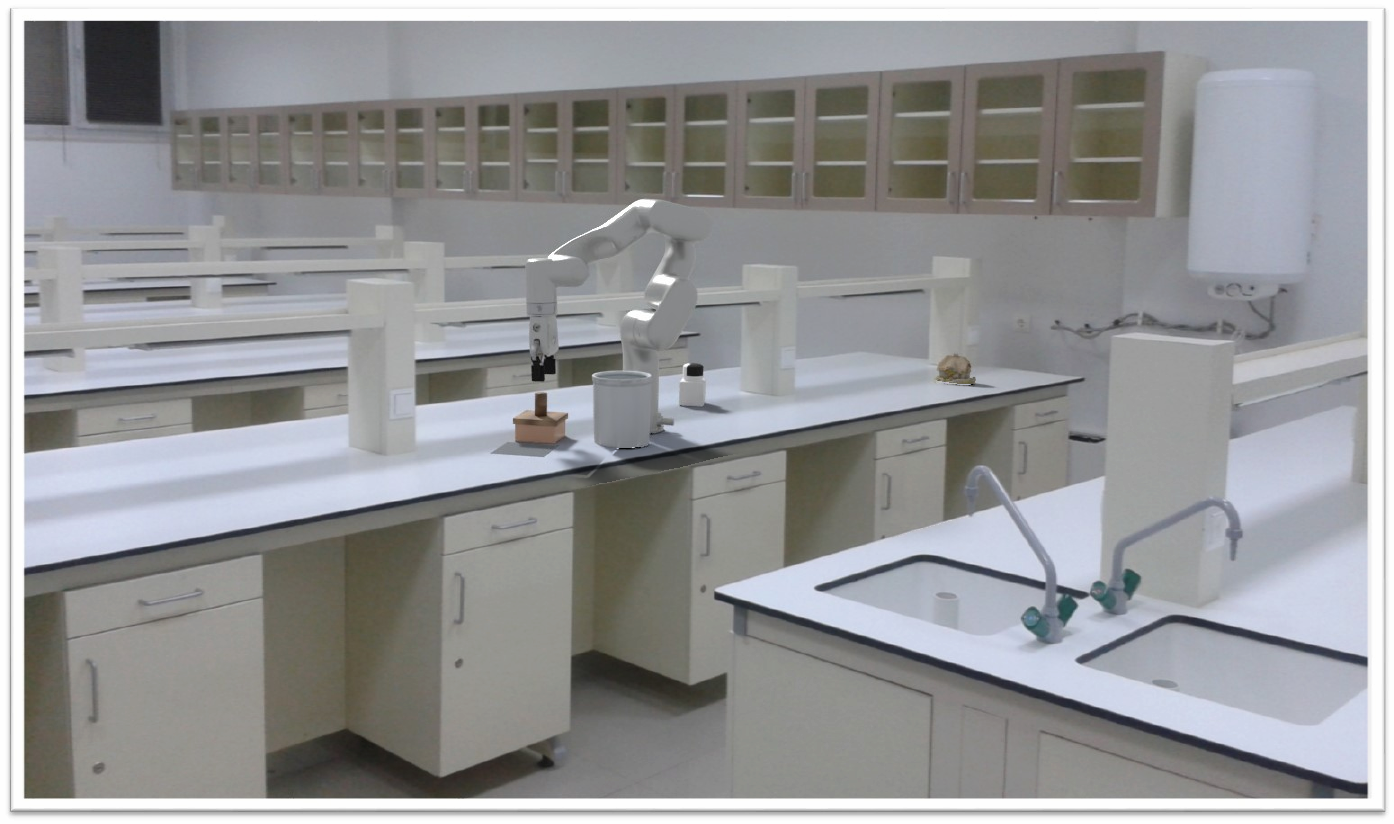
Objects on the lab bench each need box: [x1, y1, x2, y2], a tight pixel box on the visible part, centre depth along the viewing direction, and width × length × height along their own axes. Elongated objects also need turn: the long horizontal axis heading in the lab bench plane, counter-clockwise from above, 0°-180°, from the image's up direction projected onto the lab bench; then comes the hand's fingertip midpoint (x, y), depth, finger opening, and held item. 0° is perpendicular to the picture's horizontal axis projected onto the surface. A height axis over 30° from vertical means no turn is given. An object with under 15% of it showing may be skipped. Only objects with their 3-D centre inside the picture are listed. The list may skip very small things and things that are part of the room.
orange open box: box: [514, 420, 566, 445], centre depth 315 cm, size 10×10×5 cm
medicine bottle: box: [678, 362, 707, 408], centre depth 370 cm, size 7×7×12 cm
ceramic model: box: [934, 353, 977, 385], centre depth 423 cm, size 14×11×10 cm
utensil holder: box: [591, 370, 652, 448], centre depth 313 cm, size 15×15×18 cm
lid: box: [512, 391, 569, 427], centre depth 314 cm, size 11×11×7 cm
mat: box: [490, 441, 559, 458], centre depth 303 cm, size 13×13×1 cm
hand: (543, 377), depth 313 cm, fingers open, 9 cm apart
